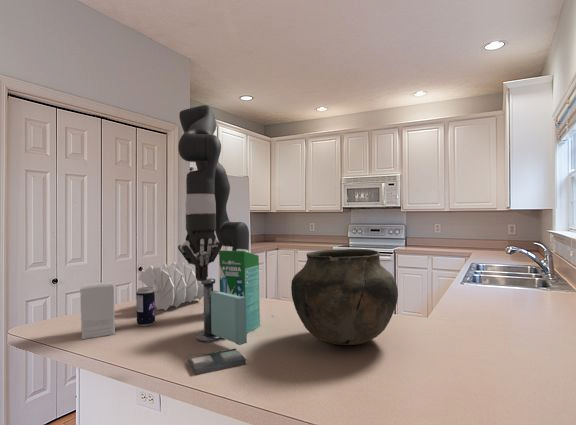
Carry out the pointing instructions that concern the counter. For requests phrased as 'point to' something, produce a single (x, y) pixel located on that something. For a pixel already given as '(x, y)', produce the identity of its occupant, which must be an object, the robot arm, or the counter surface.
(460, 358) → the counter surface
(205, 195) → the robot arm
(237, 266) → the milk carton
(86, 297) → the supplement box
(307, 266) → the pot
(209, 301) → the post
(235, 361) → the tray
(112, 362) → the counter surface
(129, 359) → the counter surface
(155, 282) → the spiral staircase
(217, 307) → the swing panel
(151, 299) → the beverage can
